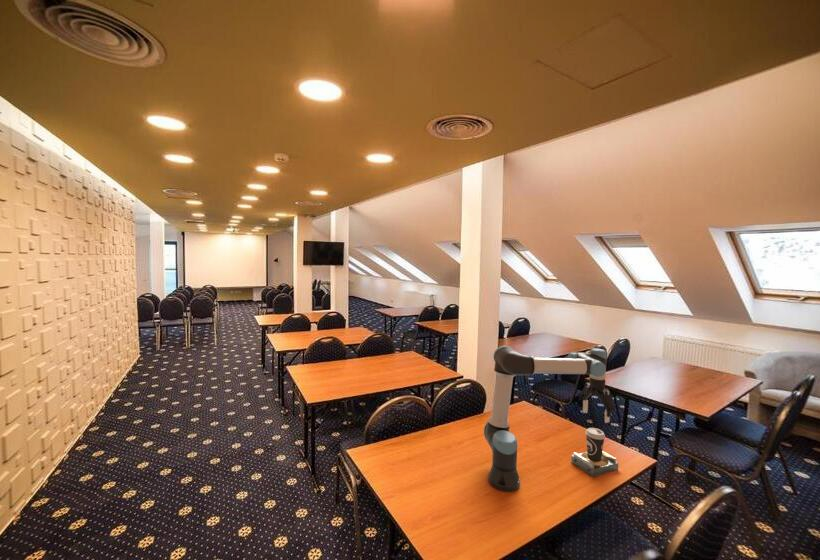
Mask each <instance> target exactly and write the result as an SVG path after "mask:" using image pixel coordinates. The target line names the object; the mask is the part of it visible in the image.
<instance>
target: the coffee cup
mask: <svg viewBox="0 0 820 560" xmlns="http://www.w3.org/2000/svg"><path fill="white" fill-rule="evenodd" d="M584 434H585V435H586V452H587V456H588V458H589V459H590V460H592V461H595V462H600V461H601V457H602V451H604V450H603V448H604V442H605V439H606V435H605V433H604V431H602V430H601V429H600V428H595V427H589V428H587V429H586V430H585V433H584Z"/></svg>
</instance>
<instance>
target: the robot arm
mask: <svg viewBox="0 0 820 560" xmlns="http://www.w3.org/2000/svg"><path fill="white" fill-rule="evenodd" d="M607 359H608V357H607V351H606V350H605V349H602V348H597V347H596V348H595V347H594V348H591V349H590V351H589V352H575V351H574V352H569V353H568V354H567V358H566V357H565V358H564V357H563V358H562V357H534V356H533V355H528V354H527V355H526V354H523V353H521V352H519V351H517V350H515V349H514V348H513V347H511V346H508V345H501V346H499V347H498V348H496V349H495V351H494V353H493V360H494V361H493V362H494V369H493V371H494V373H495V374H496V375H495V376H496V377H495V384H494V391H493V399H492V407H491V415H490V417H488V418H487V422H486V424H484V427H483V435H484V438H485V440H486V442H487V443H488V446H489V447H490V449H491V452H492V464H491V467H490V471H489V472H488V475H487V478H488V484H490V485H491V486H492V487H493V488H495V489H497V490H498V491H501V492H506V493H507V492H514V491H515V492H516V491H517V490H518V489H519V488H520V486H521V479H520V476H519V473H518V468H517V467H518V466H517V464H518V463H517V462H518V440H517V437H516V435H515V434H514V433H512V432H510V427H511V426H510V424H511V423H510V422H509V421H508V419H509V412H510V410H509V409H510V403H511V397H512V396H511V395H512V388H513V381H514V377H516V376H534V374H547V375H548V374H550V375H551V374H553V375H554V374H555V375H560V374H561V375H589V379H588V380H589V382H585V383H584V386H583V388H582V390H581V392H580V394H579V396H578V397H579V398H581V401H582V403H581V404H582V413H588V410H589V400H588V398H589V397H591V396H592V395H594V396H597V397H598V398H599V399H600V400H601V402H602V404H603V406H604V408H605V409H604V423H605V424H607V423H610V421H611V419H610V418H611V417H612V412H615V411H616V407H615V405H614V401H613V399H612V397H611V390H606V389H605V387H606V379H607V378H606V375H607Z"/></svg>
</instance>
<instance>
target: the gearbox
mask: <svg viewBox="0 0 820 560" xmlns="http://www.w3.org/2000/svg"><path fill="white" fill-rule="evenodd" d="M570 461H571V462H570V463H572V464H573V465H575V466H576V467H577V468H579V469H580V470H581V471H584V473H586V474H587V475H589V476H591V477H592V478H594V477H599V476H601V475H605V474H610V473H613V472H617V471H619V462H618V461H617V457H614V456H613V455H612V454H611V455H610V454H609V453H607V452H605V451H604V450H602V457H601V461H600V462H595V461H592V460H590V459H589V458H588V456H587V451H585V452H580V453H577V452H573V454H571V459H570Z"/></svg>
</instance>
